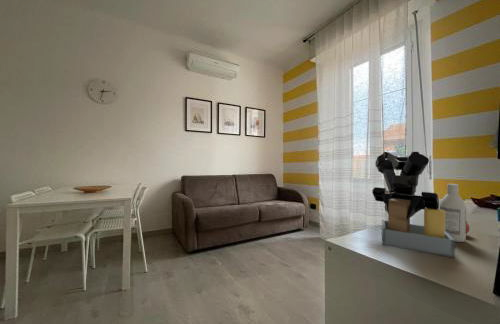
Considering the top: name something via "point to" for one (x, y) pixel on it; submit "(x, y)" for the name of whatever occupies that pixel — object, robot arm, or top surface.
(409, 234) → the tray
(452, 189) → the bath foam
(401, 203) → the walnut block
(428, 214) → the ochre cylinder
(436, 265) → the top surface
